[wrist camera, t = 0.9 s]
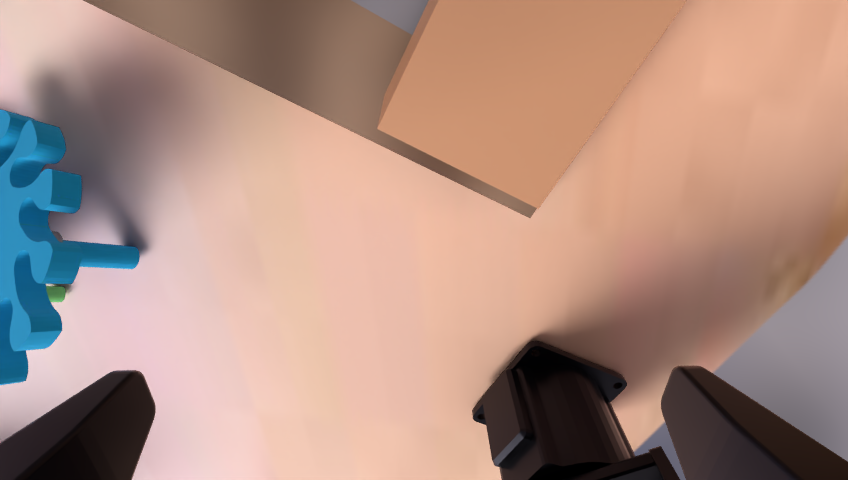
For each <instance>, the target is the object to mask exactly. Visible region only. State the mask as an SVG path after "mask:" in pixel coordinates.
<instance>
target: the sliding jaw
mask: <svg viewBox="0 0 848 480" xmlns="http://www.w3.org/2000/svg"><path fill="white" fill-rule="evenodd" d="M686 1H687V0H429V1H428V3H427V5H426V7H425V9H424V11H423V14H422V16H421V18H420V20H419V22H418V24H417V26H416V29H415V31H414V33H413V35H412V37H411V39H410V41H409V44H408V46H407V48H406V50H405V52H404V54H403V56H402V58H401V61H400V63H399V65H398V67H397V69H396V71H395V73H394V76H393V78H392V80H391V82H390V84H389V86H388V88H387V91H386V93H385V95H384V100H383V104H382V109H381V114H380V118H379V123H378V127H377V129H378V130H380V131H382V132H384V133H386V134H388V135H390V136H392V137H395V138H397V139H399V140H401V141H403V142H405V143H407V144H409V145H411V146H413V147H415V148H417V149H419V150H421V151H423V152H425V153H427V154H429V155H431V156H433V157H435V158H437V159H439V160H441V161H443V162H445V163H447V164H449V165H451V166H453V167H455V168H457V169H459V170H461V171H463V172H465V173H467V174H469V175H471V176H473V177H475V178H477V179H479V180H481V181H483V182H485V183H487V184H489V185H491V186H493V187H495V188H497V189H499V190H501V191H503V192H505V193H507V194H509V195H511V196H513V197H515V198H517V199H519V200H521V201H523V202H525V203H527V204H529V205H531V206H533V207H535V208H539V207H540V206H541V204H542V203H543V201H544V200H545V199H546V197H547V196H548V194H549V193H550V192H551V190H552V189H553V187H554V186H555V185H556V183H557V182H558V180H559V179H560V178H561V176H562V175H563V173H564V172H565V171H566V169H567V168H568V166H569V165H570V164H571V162H572V161H573V159H574V158H575V157H576V155H577V154H578V152H579V151H580V150H581V148H582V147H583V145H584V144H585V143H586V141H587V140H588V138H589V137H590V136H591V134H592V133H593V131H594V130H595V129H596V127H597V126H598V124H599V123H600V122H601V120H602V119H603V117H604V116H605V115H606V113H607V112H608V110H609V109H610V108H611V106H612V105H613V103H614V102H615V101H616V99H617V98H618V96H619V95H620V93H621V92H622V91H623V89H624V88H625V86H626V85H627V84H628V82H629V81H630V79H631V78H632V77H633V75H634V74H635V72H636V71H637V70H638V68H639V67H640V65H641V64H642V63H643V61H644V60H645V58H646V57H647V56H648V54H649V53H650V51H651V50H652V49H653V47H654V46H655V44H656V43H657V42H658V40H659V39H660V37H661V36H662V35H663V33H664V32H665V30H666V29H667V28H668V26H669V25H670V23H671V22H672V21H673V19H674V18H675V16H676V15H677V14H678V12H679V11H680V9H681V8H682V7H683V5H684V4H685V2H686Z"/></svg>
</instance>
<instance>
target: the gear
mask: <svg viewBox="0 0 848 480" xmlns="http://www.w3.org/2000/svg"><path fill="white" fill-rule="evenodd" d="M65 151H66V145H65V140H64V137H63V134H62V132H61V130H60V128H59V127H56V126H53V125H49V124H45V123H42V122H38V121H35V120H34V119H32V118H30V117H26V116H23V115H19V114H16V113H12V112H9V111H5V110H1V109H0V385H5V384H12V383H19V382H23V381H26V378H27V374H28V360H27V355H26V350H34V349H45V348H47V347H49V346H50V345H51V344H52V343H53V342H54V341H55V340H56V339H57V337H58V336H59V334H60V333H61V331H62V321H61V317H60V315H59V313H58V312H57V311H56V310H55V309H54V307H53V306H52V304H51V302H62V301H63V300H64V298H65V294H66V292H65V288H64V287H62V286H46V284H72V283H73V281H74V280H75V278H76V275H77V273H78V270H79V267H101V268H122V269H133V268H135V267H136V266H137V264H138V262H139V257H140V255H139V250H138V249H137V248H136V247H133V246H122V245H111V244H99V243H88V242H77V241H66V240H63V239H62V237H61V235H60V234H59V233H58V232H52V231H51V230H50V228H49V225H48V216H49V212H50V211H57V212H64V213H75V212H77V211H78V210H79V209H80V204H81V196H82V181H81V176H80V175H78V174H73V173H68V172H63V171H58V170H53V169H45V170H44V171H42V172H41V170H42V168H43V167H44V166H45V165H46V164H55V163H58V162H59V161H60V160H61V159H62V158H63V156H64V154H65ZM40 172H41V174H40Z"/></svg>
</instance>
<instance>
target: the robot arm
mask: <svg viewBox="0 0 848 480" xmlns="http://www.w3.org/2000/svg"><path fill="white" fill-rule="evenodd" d="M536 349H537V351H533V350H536ZM626 386H627V383H626V381H625V379H624V377H623V376H622V375H621V374H619V373H616V372H614V371H611V370H609V369H606V368H604V367H601V366H599V365H597V364H594V363H592V362H589V361H587V360H584V359H582V358H579V357H577V356H574V355H572V354H570V353H567V352H565V351H562V350H560V349H557V348H555V347H552V346H550V345H547V344H545V343H543V342H540V341H531V342H529V343H528V344H527V345H526V346H525V347H524V348H523V349H522V351H521V352H520V353H519V354H518V355H517V357H516V358H515V359H514V360H513V361H512V363H511V364H510V365H509V366H508V367H507V369H506V370H504V371H503V373H502V374H501V375H500V376H499V377H498V379H497V380H496V381H495V382H494V383H493V385H492V386H491V387H490V388H489V389H488V391H487V392H486V393H485V394H484V395H483V397H482V399H481V400H480V401H479V402H478V403H477V405H476V406H475V407H474V408H473V410H472V414H473V419H474V420H475V421H476V422H479V423H482V424H485V425H486V426H487V432H488V438H489V444H490V449H491V455H492V460H493V463H494V465H495V466H498V467H500V472H501V478H502V480H680V479H679V477H678V475H677V473H676V472H675V470H674V468H673V467H672V465H671V463H670V461H669V460H668V458H667V456H666V454H665V453H664V451H663V449H662V447H661V446H659V447H656V448H653V449H650V450H649V452H648V453H645V454H642V455H639V456H635V455H634V452H633V450H632V448H631V446H630V444H629V442H628V440H627V438H626V435H625V433H624V431H623V429H622V427H621V425H620V423H619V421H618V418H617V416H616V414H615V412H614V410H613V408H612V406H611V404H610V402H611V401H612V400H613V399H614V398H615V397H616V396H617V395H618V394H620V393H621V392H622V391H623V390H624V389H625V387H626ZM661 409H662V413H663V417H664V419H665V422H666V425H667V428H668V431H669V433H670V436H671V439H672V442H673V444H674V447H675V450H676V453H677V456H678V458H679V461H680V464H681V467H682V470H683V472H684V475H685V478H686V480H848V462H847V461H846V460H844V459H842V458H841V457H840V456H838V455H837V454H835V453H834V452H832V451H831V450H829V449H827V448H826V447H824V446H823V445H821V444H820V443H818V442H817V441H815V440H814V439H812V438H811V437H809V436H808V435H806V434H805V433H803V432H802V431H800V430H799V429H797V428H795V427H794V426H792V425H791V424H789V423H788V422H786V421H785V420H783V419H781V418H780V417H779V416H777V415H776V414H774V413H772V412H771V411H769V410H768V409H766V408H765V407H763V406H762V405H760V404H758V403H757V402H756V401H754V400H753V399H751V398H750V397H748V396H746V395H745V394H743V393H742V392H740V391H739V390H737V389H736V388H734V387H733V386H731V385H729V384H728V383H727V382H725V381H724V380H722V379H720V378H719V377H717V376H716V375H714V374H713V373H711V372H710V371H708V370H707V369H705V368H703V367H701V366H677V367H675V368H674V369H673V370H672V372H671V375H670V377H669V380H668V383H667V385H666V388H665V391H664V394H663V396H662V400H661ZM154 417H155V403H154V400H153V397H152V395H151V393H150V390H149V388H148V385H147V383H146V380H145V378H144V376H143V374H142V373H141V372H139V371H136V370H122V371H113V372H110V373H109V374H107V375H105V376H104V377H102V378H101V379H99V380H97V381H96V382H94V383H93V384H91V385H90V386H88V387H87V388H85V389H83V390H82V391H80V392H79V393H77V394H76V395H74V396H72V397H71V398H69V399H68V400H66V401H65V402H63V403H62V404H60V405H58V406H57V407H55V408H54V409H52V410H51V411H49V412H48V413H46V414H44V415H43V416H41V417H40V418H38V419H37V420H35V421H34V422H32V423H30V424H29V425H27V426H26V427H24V428H23V429H21V430H20V431H18V432H16V433H15V434H13V435H12V436H10V437H9V438H7V439H6V440H4V441H2V442H1V443H0V480H132V477H133V474H134V472H135V469H136V466H137V464H138V461H139V458H140V456H141V453H142V450H143V447H144V445H145V442H146V439H147V437H148V434H149V431H150V428H151V426H152V423H153V420H154Z"/></svg>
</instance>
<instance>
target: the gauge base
mask: <svg viewBox="0 0 848 480" xmlns="http://www.w3.org/2000/svg"><path fill="white" fill-rule="evenodd" d="M83 1H86V2H88V3H90V4H92V5H94V6H96V7H98V8H100V9H102V10H104V11H106V12H108V13H110V14H112V15H114V16H116V17H118V18H120V19H122V20H125V21H127V22H129V23H131V24H133V25H135V26H137V27H139V28H141V29H143V30H145V31H147V32H149V33H151V34H153V35H155V36H157V37H159V38H161V39H163V40H166V41H168V42H170V43H172V44H174V45H176V46H178V47H180V48H182V49H184V50H186V51H188V52H190V53H192V54H194V55H196V56H198V57H200V58H202V59H205V60H207V61H209V62H211V63H213V64H215V65H217V66H219V67H221V68H223V69H225V70H227V71H229V72H231V73H233V74H235V75H237V76H239V77H241V78H244V79H246V80H248V81H250V82H252V83H254V84H256V85H258V86H260V87H262V88H264V89H266V90H268V91H270V92H272V93H274V94H276V95H278V96H280V97H282V98H285V99H287V100H289V101H291V102H293V103H295V104H297V105H299V106H301V107H303V108H305V109H307V110H309V111H311V112H313V113H315V114H317V115H319V116H321V117H324V118H326V119H328V120H330V121H332V122H334V123H336V124H338V125H340V126H342V127H344V128H346V129H348V130H350V131H352V132H354V133H356V134H358V135H360V136H362V137H365V138H367V139H369V140H371V141H373V142H375V143H377V144H379V145H381V146H383V147H385V148H387V149H389V150H391V151H393V152H395V153H397V154H399V155H401V156H404V157H406V158H408V159H410V160H412V161H414V162H416V163H418V164H420V165H422V166H424V167H426V168H428V169H430V170H432V171H434V172H436V173H438V174H440V175H442V176H445V177H447V178H449V179H451V180H453V181H455V182H457V183H459V184H461V185H463V186H465V187H467V188H469V189H471V190H473V191H475V192H477V193H479V194H481V195H484V196H486V197H488V198H490V199H492V200H494V201H496V202H498V203H500V204H502V205H504V206H506V207H508V208H510V209H512V210H514V211H516V212H518V213H520V214H522V215H525V216H527V217H529V218H531V216H532V215H533V213H534V212H535V211H536V209H537V208H535V207H533V206H531V205H529V204H527V203H525V202H523V201H521V200H519V199H517V198H515V197H513V196H511V195H509V194H507V193H505V192H503V191H501V190H499V189H497V188H495V187H493V186H491V185H489V184H487V183H485V182H483V181H481V180H479V179H477V178H475V177H473V176H471V175H469V174H467V173H465V172H463V171H461V170H459V169H457V168H455V167H453V166H451V165H449V164H447V163H445V162H443V161H441V160H439V159H437V158H435V157H433V156H431V155H429V154H427V153H425V152H423V151H421V150H419V149H417V148H415V147H413V146H411V145H409V144H407V143H405V142H403V141H401V140H399V139H397V138H395V137H392V136H390V135H388V134H386V133H384V132H382V131H380V130H378V129H377V127H378V123H379V118H380V114H381V109H382V104H383V100H384V95H385V93H386V91H387V88H388V86H389V84H390V82H391V80H392V78H393V76H394V73H395V71H396V69H397V67H398V65H399V63H400V61H401V58H402V56H403V54H404V52H405V50H406V48H407V46H408V44H409V41H410V39H411V37H412V35H413V33H414V31H415V29H416V26H417V24H418V22H419V20H420V18H421V16H422V14H423V11H424V9H425V7H426V5H427V3H428V1H429V0H83Z"/></svg>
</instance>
